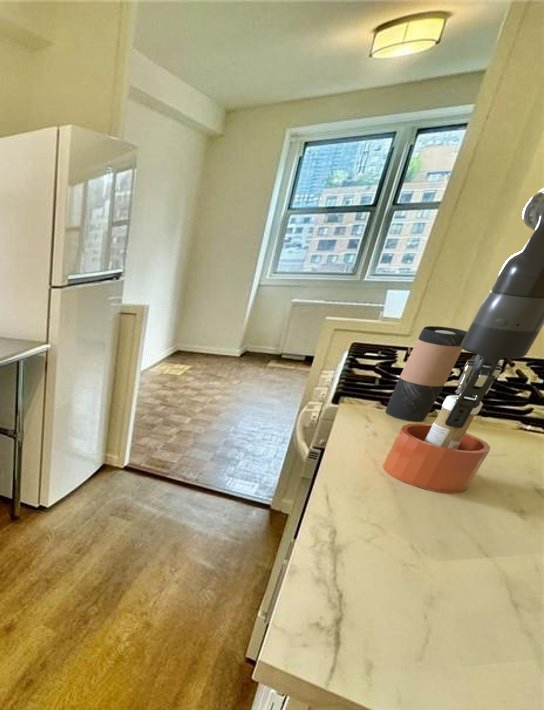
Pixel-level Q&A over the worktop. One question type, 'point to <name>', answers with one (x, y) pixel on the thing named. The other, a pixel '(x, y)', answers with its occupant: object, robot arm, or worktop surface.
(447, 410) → the sprinkles bottle
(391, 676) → the worktop surface
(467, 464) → the crock
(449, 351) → the travel mug
